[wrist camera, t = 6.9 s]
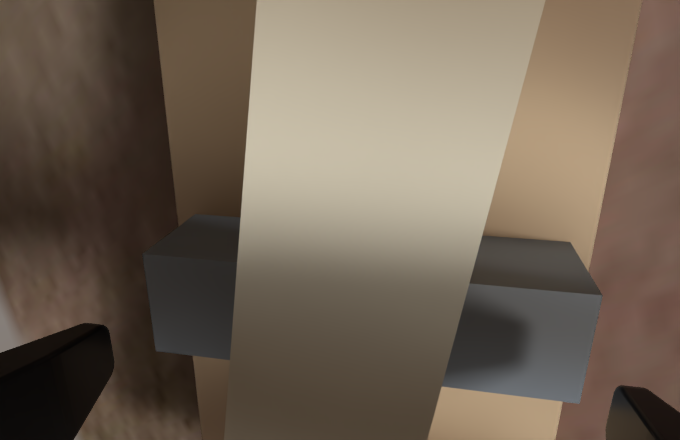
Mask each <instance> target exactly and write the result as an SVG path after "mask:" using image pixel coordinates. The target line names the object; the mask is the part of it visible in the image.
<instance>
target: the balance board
mask: <svg viewBox="0 0 680 440" xmlns="http://www.w3.org/2000/svg"><path fill="white" fill-rule="evenodd" d="M256 5H257V0H154V9H155V18H156V27H157V36H158V45H159V54H160V63H161V72H162V81H163V90H164V100H165V109H166V118H167V127H168V136H169V145H170V154H171V163H172V172H173V181H174V190H175V199H176V208H177V217H178V227H177V228H176V229H175V230H173V231H172V232H171V233H169V234H168V235H167V236H165V237H164V238H163V239H162V240H160V241H159V242H158V243H156V244H155V245H154V246H152V247H151V248H150V249H148V250H147V251H146V252H144V253H143V254H142V255H143V262H144V270H145V277H146V284H147V291H148V298H149V305H150V312H151V320H152V327H153V334H154V341H155V348H156V351H159V352H167V353H175V354H183V355H192V356H193V363H194V372H195V381H196V390H197V399H198V408H199V417H200V426H201V435H202V440H224V432H225V419H226V406H227V392H228V379H229V366H230V352H231V339H232V325H233V312H234V299H235V285H236V272H237V259H238V245H239V232H240V219H241V205H242V192H243V179H244V165H245V152H246V139H247V125H248V112H249V98H250V85H251V72H252V58H253V45H254V32H255V18H256ZM641 5H642V0H546V1H545V4H544V8H543V12H542V15H541V19H540V23H539V27H538V30H537V34H536V38H535V41H534V45H533V49H532V53H531V56H530V60H529V64H528V67H527V71H526V75H525V79H524V82H523V86H522V90H521V93H520V97H519V101H518V105H517V108H516V112H515V116H514V119H513V123H512V127H511V131H510V134H509V138H508V142H507V145H506V149H505V153H504V157H503V160H502V164H501V168H500V172H499V175H498V179H497V183H496V186H495V190H494V194H493V198H492V201H491V205H490V209H489V212H488V216H487V220H486V224H485V227H484V231H483V235H482V238H481V242H480V246H479V250H478V253H477V257H476V261H475V264H474V268H473V272H472V276H471V279H470V283H469V287H468V290H467V294H466V298H465V302H464V305H463V309H462V313H461V316H460V320H459V324H458V328H457V331H456V335H455V339H454V342H453V346H452V350H451V354H450V357H449V361H448V365H447V368H446V372H445V376H444V380H443V383H442V387H441V391H440V394H439V398H438V402H437V406H436V409H435V413H434V417H433V420H432V424H431V428H430V432H429V435H428V439H427V440H555V438H556V433H557V428H558V423H559V418H560V413H561V408H562V403H563V402H570V403H578V404H580V399H581V394H582V390H583V385H584V380H585V376H586V371H587V366H588V361H589V357H590V352H591V347H592V343H593V338H594V333H595V329H596V324H597V319H598V315H599V310H600V305H601V301H602V296H603V295H602V294H601V292H600V290H599V289H598V287H597V285H596V284H595V282H594V280H593V279H592V277H591V275H590V274H589V267H590V262H591V257H592V252H593V246H594V241H595V236H596V231H597V226H598V221H599V216H600V211H601V206H602V201H603V196H604V191H605V186H606V181H607V176H608V171H609V166H610V161H611V156H612V151H613V146H614V141H615V136H616V131H617V126H618V121H619V116H620V111H621V105H622V100H623V95H624V90H625V85H626V80H627V75H628V70H629V65H630V60H631V55H632V50H633V45H634V40H635V35H636V30H637V25H638V20H639V15H640V10H641Z"/></svg>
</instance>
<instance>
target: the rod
mask: <svg viewBox="0 0 680 440" xmlns="http://www.w3.org/2000/svg"><path fill="white" fill-rule="evenodd" d="M545 1H546V0H257V5H256V18H255V32H254V45H253V58H252V72H251V85H250V98H249V112H248V125H247V139H246V152H245V165H244V179H243V192H242V205H241V219H240V232H239V245H238V259H237V272H236V285H235V299H234V312H233V325H232V339H231V352H230V366H229V379H228V392H227V406H226V419H225V432H224V440H427V439H428V435H429V432H430V428H431V424H432V420H433V417H434V413H435V409H436V406H437V402H438V398H439V394H440V391H441V387H442V383H443V380H444V376H445V372H446V368H447V365H448V361H449V357H450V354H451V350H452V346H453V342H454V339H455V335H456V331H457V328H458V324H459V320H460V316H461V313H462V309H463V305H464V302H465V298H466V294H467V290H468V287H469V283H470V279H471V276H472V272H473V268H474V264H475V261H476V257H477V253H478V250H479V246H480V242H481V238H482V235H483V231H484V227H485V224H486V220H487V216H488V212H489V209H490V205H491V201H492V198H493V194H494V190H495V186H496V183H497V179H498V175H499V172H500V168H501V164H502V160H503V157H504V153H505V149H506V145H507V142H508V138H509V134H510V131H511V127H512V123H513V119H514V116H515V112H516V108H517V105H518V101H519V97H520V93H521V90H522V86H523V82H524V79H525V75H526V71H527V67H528V64H529V60H530V56H531V53H532V49H533V45H534V41H535V38H536V34H537V30H538V27H539V23H540V19H541V15H542V12H543V8H544V4H545Z"/></svg>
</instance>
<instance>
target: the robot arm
mask: <svg viewBox="0 0 680 440" xmlns="http://www.w3.org/2000/svg"><path fill="white" fill-rule="evenodd" d="M113 369H114V356H113V350H112V345H111V339H110V333H109V330H108V328H107V327H106V326H104V325H100V324H92V323H83V324H80V325H77V326H74V327H71V328H69V329H66V330H63V331H60V332H57V333H55V334H52V335H49V336H46V337H43V338H41V339H38V340H35V341H32V342H30V343H27V344H24V345H21V346H18V347H16V348H13V349H10V350H7V351H5V352H2V353H0V440H74V438H75V436H76V435H77V433H78V432H79V430H80V428H81V426H82V425H83V423H84V421H85V420H86V418H87V416H88V414H89V413H90V411H91V409H92V408H93V406H94V404H95V403H96V401H97V399H98V397H99V396H100V394H101V392H102V391H103V389H104V387H105V385H106V384H107V382H108V380H109V379H110V377H111V375H112V372H113ZM606 440H680V412H678V411H677V410H675V409H674V408H673V407H671V406H670V405H669V404H667V403H666V402H664V401H663V400H662V399H660V398H659V397H658V396H656V395H655V394H653V393H652V392H651V391H649V390H648V389H646V388H641V387H632V386H624V385H620V386H618V387H617V388H616V390H615V391H614V395H613V399H612V403H611V407H610V411H609V416H608V420H607V424H606Z"/></svg>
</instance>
